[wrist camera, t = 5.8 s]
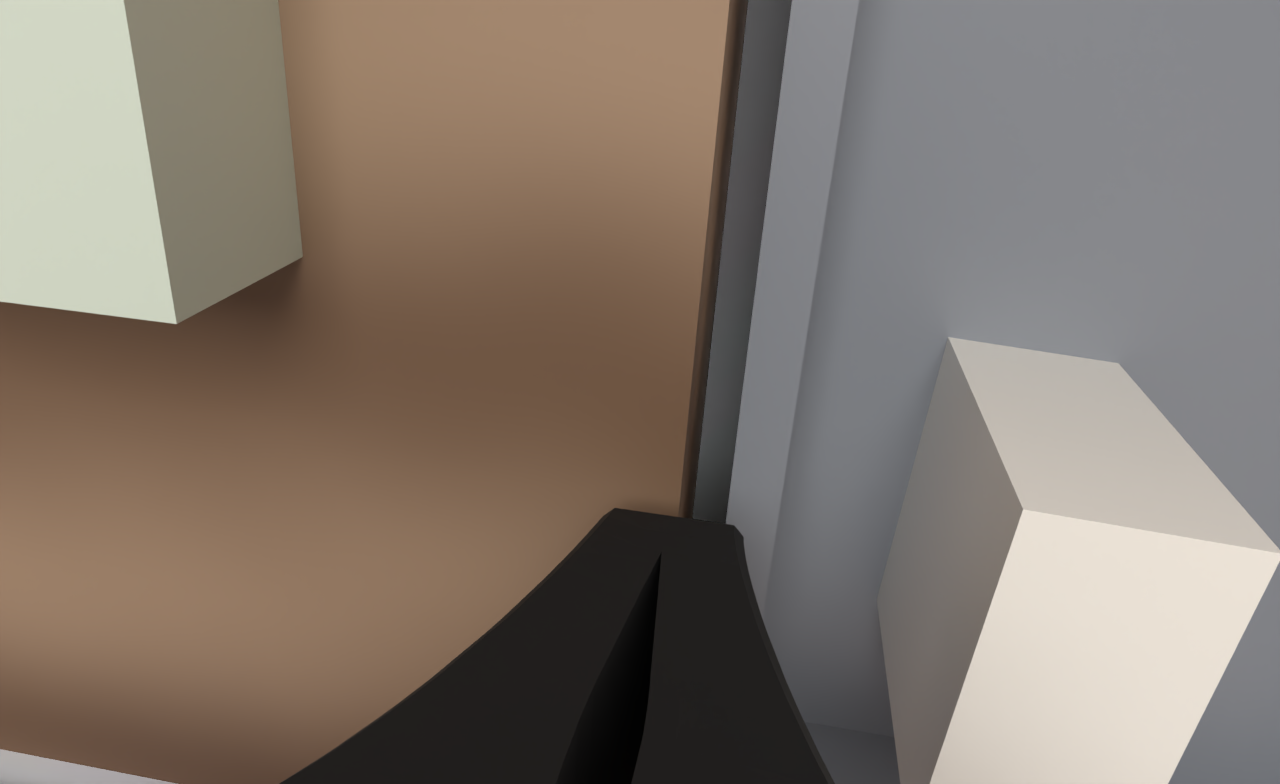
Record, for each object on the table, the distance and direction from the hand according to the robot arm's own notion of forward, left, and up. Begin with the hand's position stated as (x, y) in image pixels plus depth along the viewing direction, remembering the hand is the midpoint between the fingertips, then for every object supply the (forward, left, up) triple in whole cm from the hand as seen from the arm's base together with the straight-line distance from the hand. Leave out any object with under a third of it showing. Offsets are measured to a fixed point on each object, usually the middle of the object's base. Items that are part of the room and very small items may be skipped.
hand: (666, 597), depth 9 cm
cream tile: (0, -3, -1) cm, 3 cm away
